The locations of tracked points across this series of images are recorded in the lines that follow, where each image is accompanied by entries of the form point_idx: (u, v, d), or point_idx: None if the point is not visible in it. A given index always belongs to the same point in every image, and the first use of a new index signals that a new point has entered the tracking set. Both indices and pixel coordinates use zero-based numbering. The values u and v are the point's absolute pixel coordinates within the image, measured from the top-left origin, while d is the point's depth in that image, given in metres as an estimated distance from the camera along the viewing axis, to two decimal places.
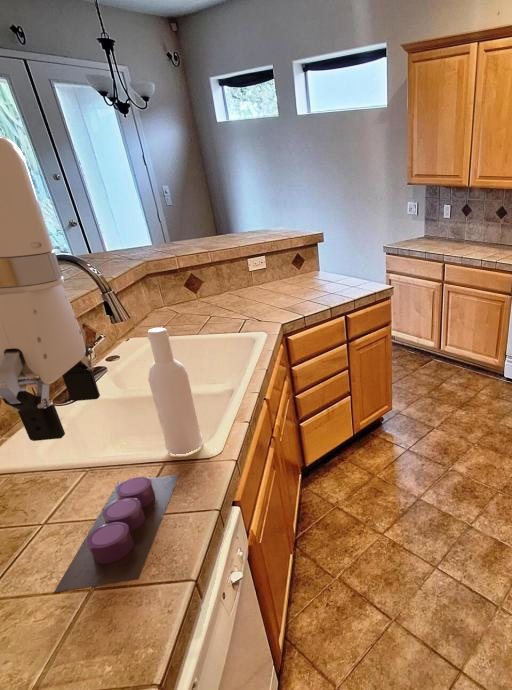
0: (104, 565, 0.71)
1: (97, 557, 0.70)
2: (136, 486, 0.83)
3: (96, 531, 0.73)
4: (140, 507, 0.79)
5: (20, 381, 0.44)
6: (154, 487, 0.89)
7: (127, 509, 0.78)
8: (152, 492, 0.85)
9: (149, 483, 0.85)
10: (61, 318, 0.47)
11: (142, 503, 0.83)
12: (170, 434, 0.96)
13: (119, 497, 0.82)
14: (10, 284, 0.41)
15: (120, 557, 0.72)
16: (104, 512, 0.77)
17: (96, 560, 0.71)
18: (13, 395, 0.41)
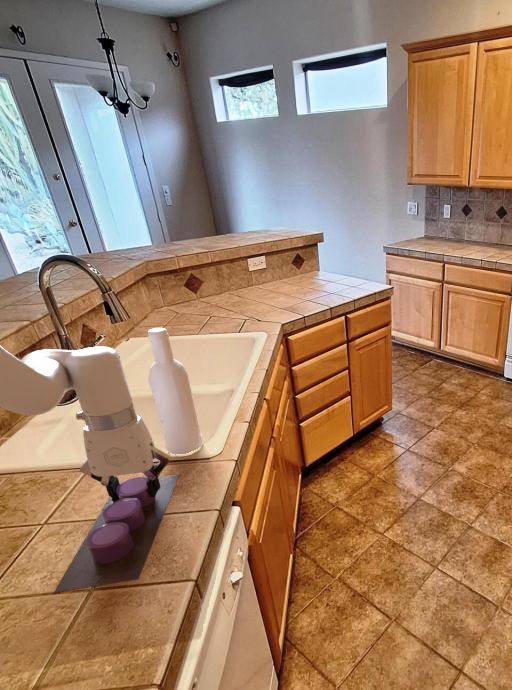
0: (104, 565, 0.71)
1: (97, 557, 0.70)
2: (136, 486, 0.83)
3: (96, 531, 0.73)
4: (140, 507, 0.79)
5: None
6: None
7: (127, 509, 0.78)
8: None
9: None
10: None
11: (142, 503, 0.83)
12: (170, 434, 0.96)
13: (119, 497, 0.82)
14: (135, 413, 0.79)
15: (120, 557, 0.72)
16: (104, 512, 0.77)
17: (96, 560, 0.71)
18: None
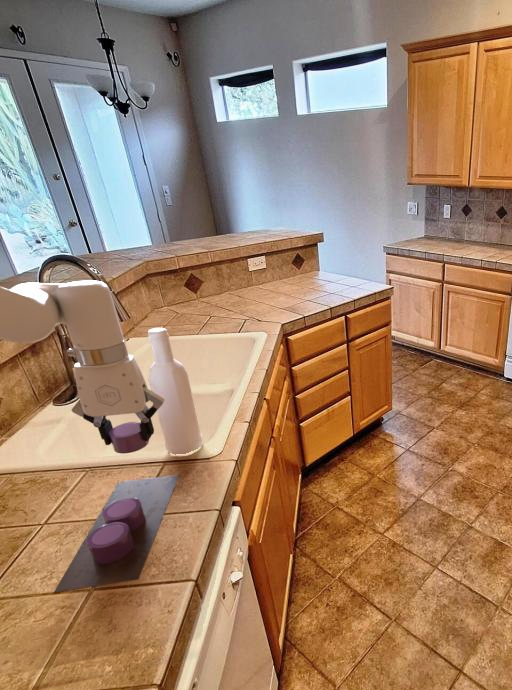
0: (104, 565, 0.71)
1: (97, 557, 0.70)
2: (129, 429, 0.82)
3: (96, 531, 0.73)
4: (140, 507, 0.79)
5: None
6: (154, 487, 0.89)
7: (127, 509, 0.78)
8: None
9: None
10: None
11: (135, 446, 0.82)
12: (170, 434, 0.96)
13: (112, 439, 0.81)
14: None
15: (120, 557, 0.72)
16: (104, 512, 0.77)
17: (96, 560, 0.71)
18: None
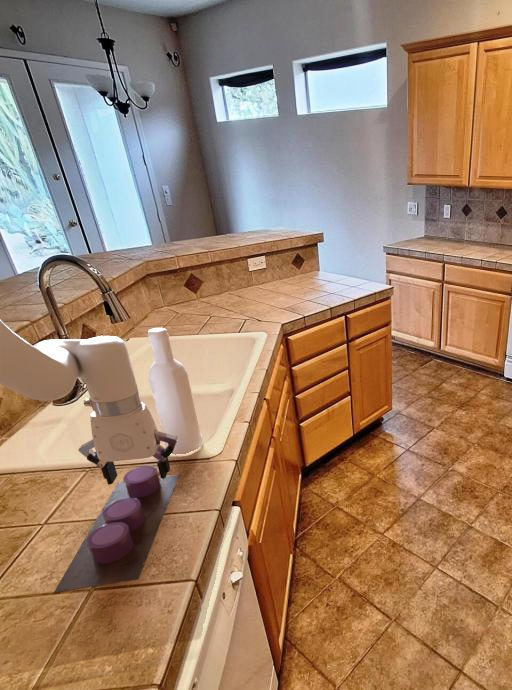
0: (104, 565, 0.71)
1: (97, 557, 0.70)
2: (143, 474, 0.87)
3: (96, 531, 0.73)
4: (140, 507, 0.79)
5: None
6: None
7: (127, 509, 0.78)
8: (158, 480, 0.89)
9: (155, 471, 0.88)
10: None
11: (148, 490, 0.86)
12: (170, 434, 0.96)
13: (126, 484, 0.85)
14: None
15: (120, 557, 0.72)
16: (104, 512, 0.77)
17: (96, 560, 0.71)
18: None
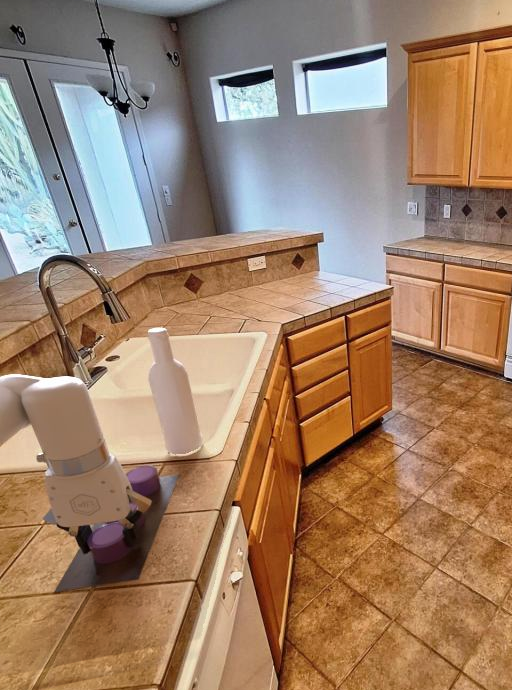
0: (104, 565, 0.71)
1: (97, 557, 0.70)
2: (143, 474, 0.87)
3: (96, 531, 0.73)
4: None
5: None
6: None
7: None
8: (158, 480, 0.89)
9: (155, 471, 0.88)
10: None
11: (148, 490, 0.86)
12: (170, 434, 0.96)
13: None
14: (108, 453, 0.67)
15: (120, 557, 0.72)
16: None
17: (96, 560, 0.71)
18: None
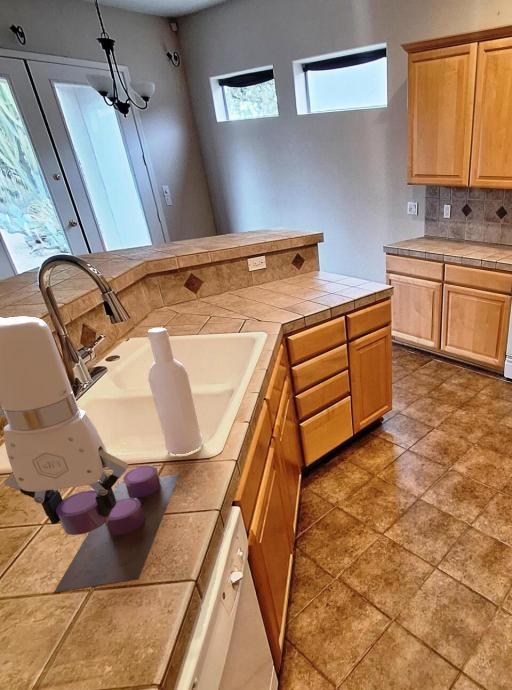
0: (104, 565, 0.71)
1: (67, 527, 0.63)
2: (143, 474, 0.87)
3: (67, 499, 0.65)
4: (140, 507, 0.79)
5: None
6: None
7: (127, 509, 0.78)
8: (158, 480, 0.89)
9: (155, 471, 0.88)
10: None
11: (148, 490, 0.86)
12: (170, 434, 0.96)
13: (126, 484, 0.85)
14: (77, 407, 0.60)
15: (93, 528, 0.64)
16: None
17: (66, 531, 0.63)
18: None
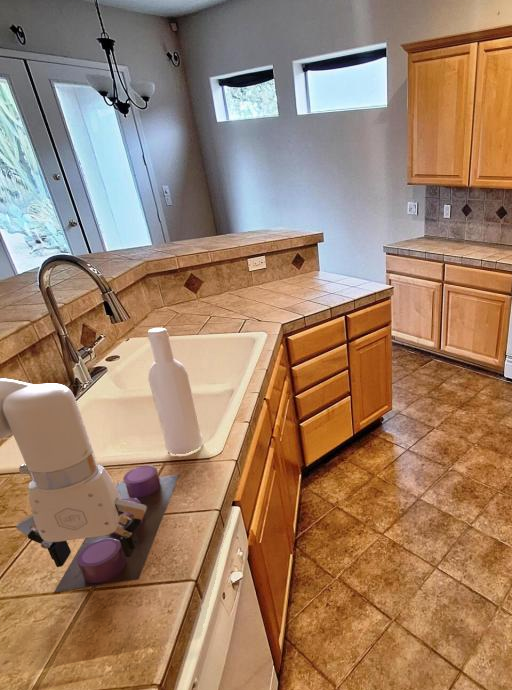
0: None
1: (87, 576, 0.67)
2: (143, 474, 0.87)
3: (87, 548, 0.69)
4: None
5: None
6: None
7: None
8: (158, 480, 0.89)
9: (155, 471, 0.88)
10: None
11: (148, 490, 0.86)
12: (170, 434, 0.96)
13: (126, 484, 0.85)
14: (97, 464, 0.64)
15: (112, 576, 0.68)
16: None
17: (86, 579, 0.67)
18: (144, 513, 0.68)
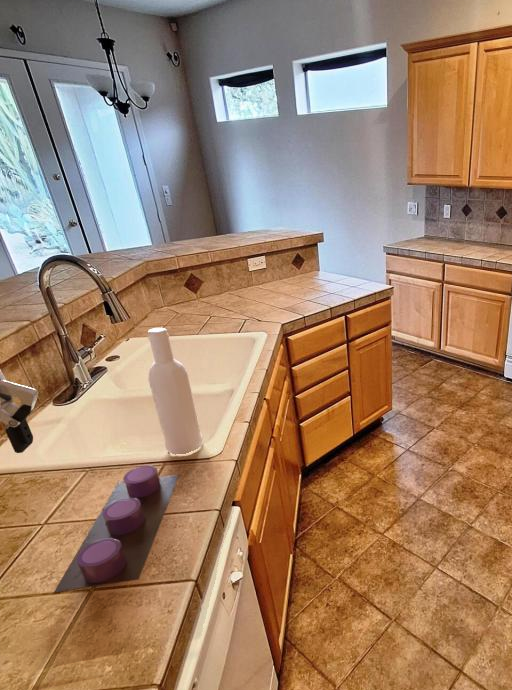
0: None
1: (87, 576, 0.67)
2: (143, 474, 0.87)
3: (87, 548, 0.69)
4: (140, 507, 0.79)
5: None
6: None
7: (127, 509, 0.78)
8: (158, 480, 0.89)
9: (155, 471, 0.88)
10: None
11: (148, 490, 0.86)
12: (170, 434, 0.96)
13: (126, 484, 0.85)
14: None
15: (112, 576, 0.68)
16: (104, 512, 0.77)
17: (86, 579, 0.67)
18: (35, 401, 0.58)
